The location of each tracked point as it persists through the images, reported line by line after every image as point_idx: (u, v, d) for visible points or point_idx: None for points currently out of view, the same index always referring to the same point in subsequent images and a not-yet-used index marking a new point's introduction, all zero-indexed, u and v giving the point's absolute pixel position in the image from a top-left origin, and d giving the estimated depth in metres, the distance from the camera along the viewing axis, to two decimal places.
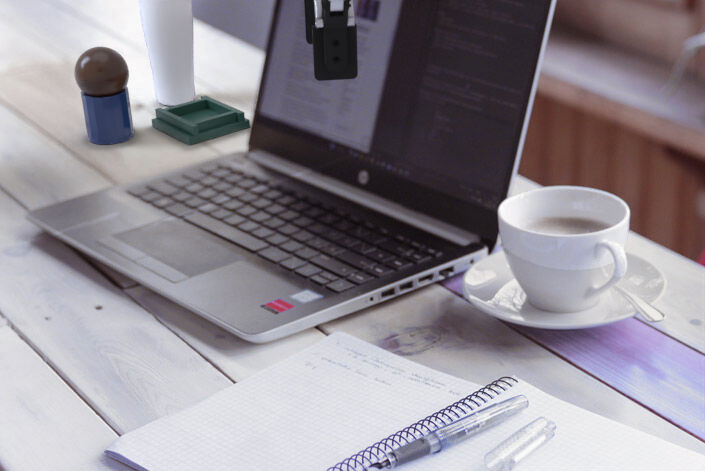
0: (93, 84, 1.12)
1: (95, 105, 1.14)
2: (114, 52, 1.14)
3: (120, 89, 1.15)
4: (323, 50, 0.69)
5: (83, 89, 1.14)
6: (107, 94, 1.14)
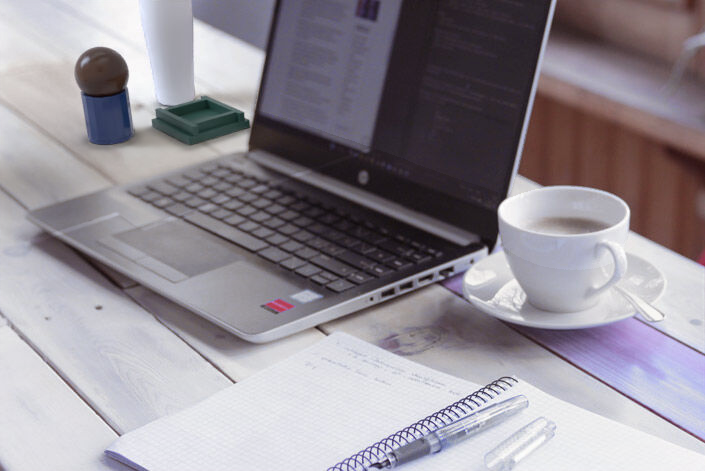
0: (93, 84, 1.12)
1: (95, 105, 1.14)
2: (114, 52, 1.14)
3: (120, 89, 1.15)
4: None
5: (83, 89, 1.14)
6: (107, 94, 1.14)
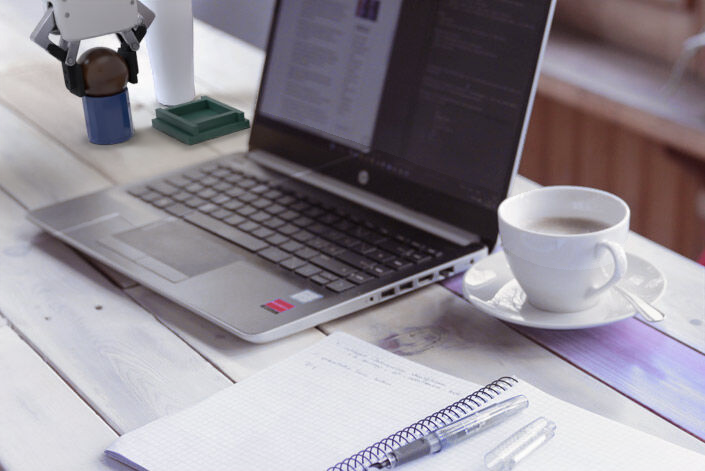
0: (93, 84, 1.12)
1: (95, 105, 1.14)
2: (114, 52, 1.14)
3: (120, 89, 1.15)
4: None
5: None
6: (107, 94, 1.14)
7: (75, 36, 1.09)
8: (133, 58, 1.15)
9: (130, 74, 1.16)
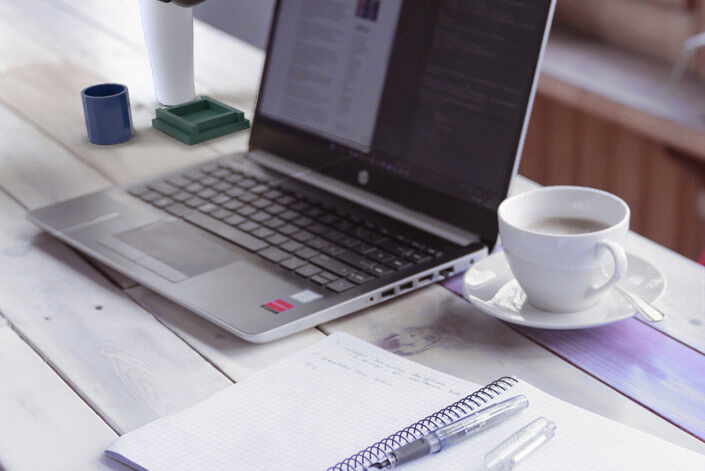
0: None
1: (95, 105, 1.14)
2: None
3: None
4: None
5: None
6: (193, 0, 1.11)
7: None
8: None
9: None
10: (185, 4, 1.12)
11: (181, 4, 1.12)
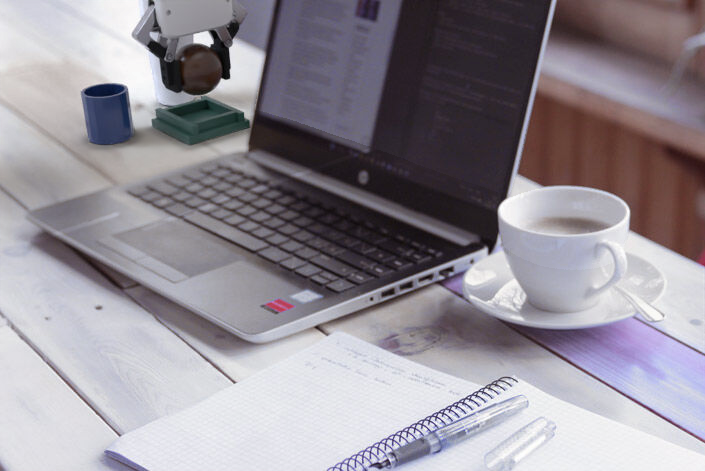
0: (190, 80, 1.15)
1: (95, 105, 1.14)
2: (209, 48, 1.16)
3: (215, 85, 1.17)
4: None
5: None
6: (203, 89, 1.16)
7: (175, 33, 1.12)
8: (227, 54, 1.18)
9: (223, 70, 1.19)
10: (195, 93, 1.17)
11: (191, 93, 1.17)
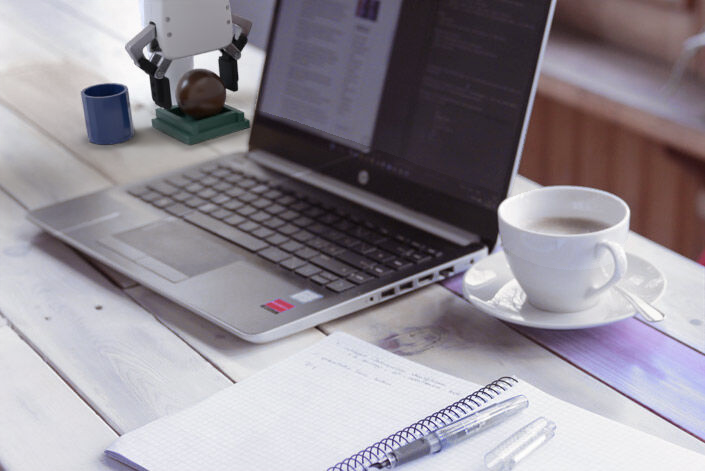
0: (194, 103, 1.17)
1: (95, 105, 1.14)
2: (215, 74, 1.19)
3: (218, 110, 1.19)
4: None
5: (183, 107, 1.18)
6: (205, 113, 1.18)
7: (176, 55, 1.13)
8: (235, 67, 1.20)
9: (231, 82, 1.20)
10: (197, 117, 1.18)
11: (193, 116, 1.18)
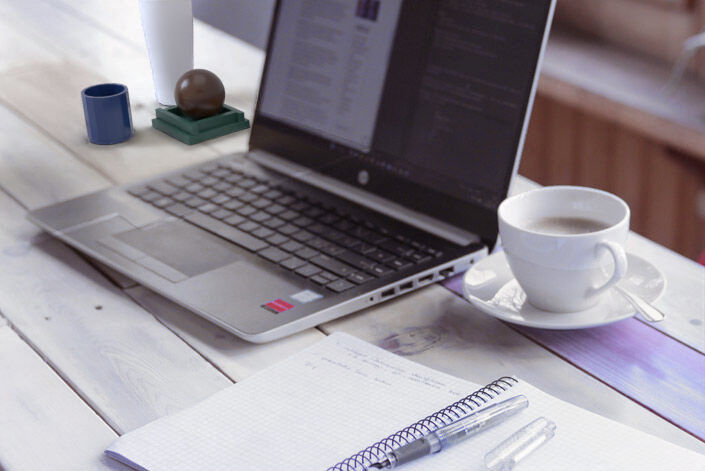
0: (193, 104, 1.17)
1: (95, 105, 1.14)
2: (213, 74, 1.18)
3: (217, 110, 1.19)
4: None
5: (182, 108, 1.18)
6: (205, 114, 1.18)
7: None
8: None
9: None
10: (197, 117, 1.18)
11: (193, 117, 1.18)
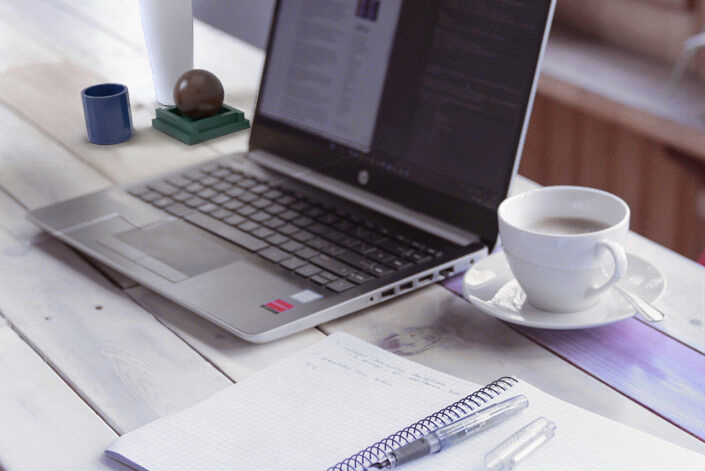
0: (193, 105, 1.17)
1: (95, 105, 1.14)
2: (212, 74, 1.18)
3: (216, 110, 1.19)
4: None
5: (182, 109, 1.18)
6: (205, 114, 1.18)
7: None
8: None
9: None
10: (197, 118, 1.18)
11: (193, 118, 1.18)
